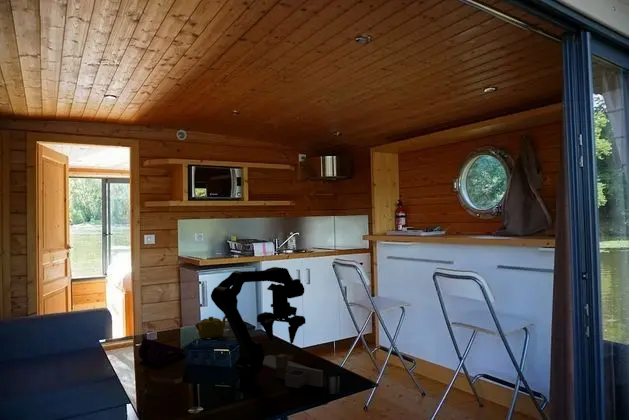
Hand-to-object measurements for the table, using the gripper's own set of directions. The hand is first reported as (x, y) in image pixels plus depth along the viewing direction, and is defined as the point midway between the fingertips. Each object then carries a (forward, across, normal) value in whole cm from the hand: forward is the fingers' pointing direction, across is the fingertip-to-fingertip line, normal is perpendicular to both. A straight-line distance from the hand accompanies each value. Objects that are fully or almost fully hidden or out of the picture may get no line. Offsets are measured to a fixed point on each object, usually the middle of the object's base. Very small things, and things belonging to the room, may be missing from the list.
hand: (281, 341), depth 170 cm
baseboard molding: (+14, +4, -10) cm, 18 cm away
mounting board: (+13, -11, +2) cm, 17 cm away
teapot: (+14, +63, -30) cm, 71 cm away
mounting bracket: (+13, +58, +5) cm, 60 cm away
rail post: (+13, 0, 0) cm, 13 cm away
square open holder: (+12, -11, +7) cm, 17 cm away
